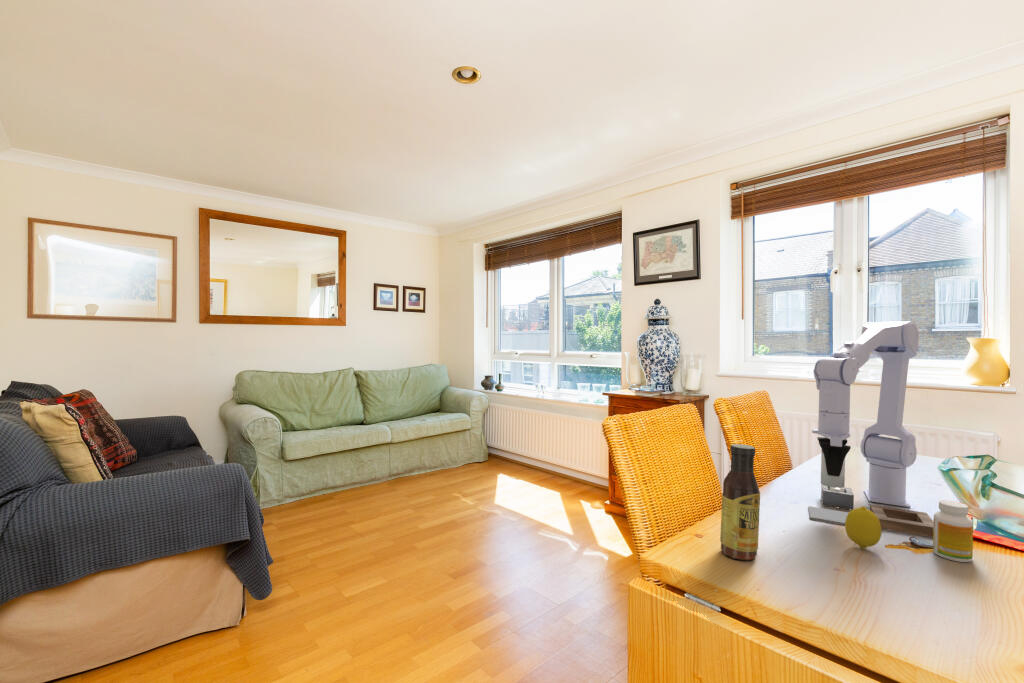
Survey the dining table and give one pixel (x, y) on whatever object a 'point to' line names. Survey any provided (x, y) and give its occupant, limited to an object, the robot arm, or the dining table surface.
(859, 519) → the lemon
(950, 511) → the supplement bottle
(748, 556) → the sauce bottle
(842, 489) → the plunger button
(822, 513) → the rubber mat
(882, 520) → the walnut housing
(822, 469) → the cylinder
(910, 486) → the dining table surface
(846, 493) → the plunger collar
